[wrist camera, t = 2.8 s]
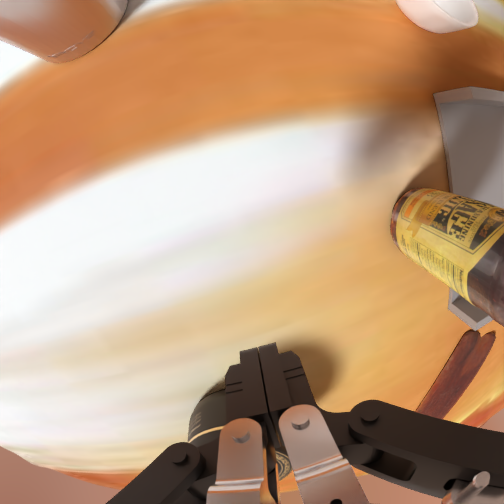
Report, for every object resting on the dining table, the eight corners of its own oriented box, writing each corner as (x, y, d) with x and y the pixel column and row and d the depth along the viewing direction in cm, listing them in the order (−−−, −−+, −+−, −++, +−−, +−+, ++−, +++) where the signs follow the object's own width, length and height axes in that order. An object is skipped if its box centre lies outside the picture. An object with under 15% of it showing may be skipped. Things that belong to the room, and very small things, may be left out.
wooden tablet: (459, 328, 27) (467, 334, 26) (494, 328, 29) (500, 334, 27) (371, 458, 35) (375, 465, 33) (413, 448, 36) (416, 454, 35)
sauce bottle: (435, 179, 21) (637, 243, 2) (440, 244, 23) (607, 348, 4) (376, 194, 21) (622, 299, 2) (386, 265, 23) (562, 420, 4)
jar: (299, 392, 26) (317, 450, 19) (262, 443, 29) (269, 494, 22) (203, 372, 25) (199, 436, 17) (181, 428, 27) (175, 483, 20)
